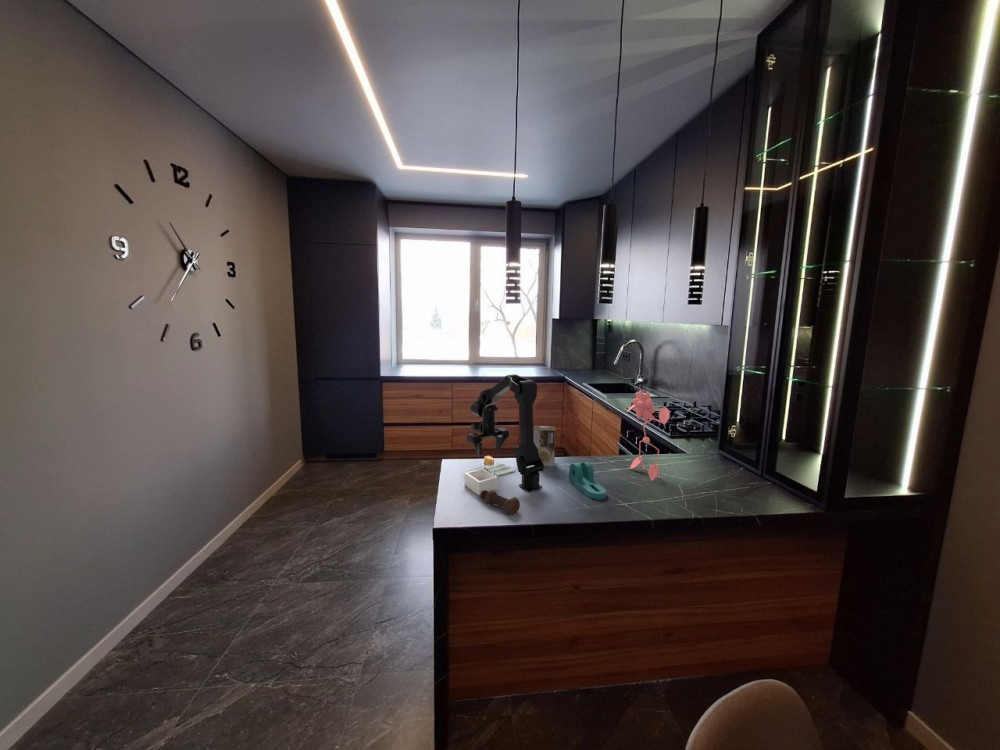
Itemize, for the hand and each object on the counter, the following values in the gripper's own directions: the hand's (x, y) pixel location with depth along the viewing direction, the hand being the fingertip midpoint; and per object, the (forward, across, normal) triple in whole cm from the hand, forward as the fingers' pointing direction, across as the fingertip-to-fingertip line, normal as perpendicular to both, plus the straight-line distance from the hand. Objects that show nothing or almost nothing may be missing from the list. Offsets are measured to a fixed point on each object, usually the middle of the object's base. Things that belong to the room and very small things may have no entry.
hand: (488, 454), depth 168 cm
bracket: (+5, -17, +41) cm, 45 cm away
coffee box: (+4, -20, +13) cm, 24 cm away
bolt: (+5, +18, +33) cm, 38 cm away
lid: (+4, 0, +6) cm, 7 cm away
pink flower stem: (+4, -43, +44) cm, 62 cm away
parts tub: (+4, +16, +18) cm, 24 cm away
